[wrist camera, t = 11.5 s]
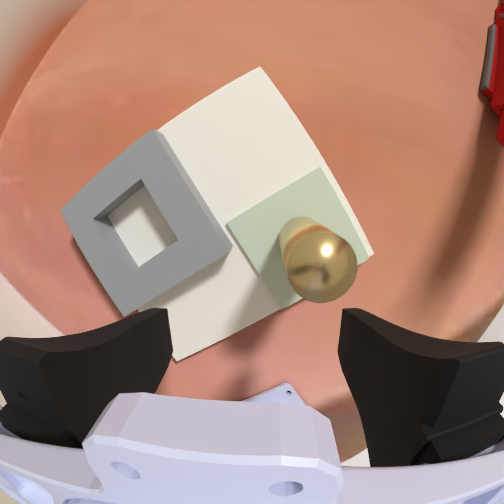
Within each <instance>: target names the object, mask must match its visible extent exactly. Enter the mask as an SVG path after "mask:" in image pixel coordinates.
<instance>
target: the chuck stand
mask: <svg viewBox="0 0 504 504" xmlns="http://www.w3.org/2000/svg"><path fill="white" fill-rule="evenodd" d="M60 212H61V214H62V216H63V218H64V220H65V222H66V224H67V225H68V227H69V229H70V231H71V233H72V235H73V237H74V238H75V240H76V242H77V244H78V246H79V247H80V249H81V251H82V253H83V254H84V256H85V258H86V259H87V261H88V263H89V264H90V266H91V268H92V269H93V271H94V273H95V274H96V276H97V277H98V279H99V281H100V282H101V284H102V285H103V287H104V288H105V290H106V291H107V293H108V294H109V296H110V297H111V299H112V300H113V302H114V303H115V305H116V306H117V308H118V309H119V311H120V312H121V313H122V315H123V316H124V317H125V316H127V315H128V314H130V313H131V312H133V311H135V310H136V309H137V310H138V311H139V312H142V311H144V310H147V309H150V308H167V310H168V317H169V325H170V332H171V339H172V345H173V353H172V356H173V357H174V358H175V360H176V361H179V360H181V359H183V358H185V357H187V356H189V355H191V354H194V353H196V352H198V351H200V350H202V349H204V348H206V347H208V346H210V345H212V344H214V343H216V342H218V341H220V340H222V339H224V338H226V337H228V336H230V335H232V334H234V333H236V332H238V331H240V330H242V329H244V328H246V327H248V326H249V325H251V324H253V323H255V322H257V321H259V320H261V319H263V318H264V317H266V316H268V315H270V314H272V313H274V312H276V311H277V310H279V309H282V310H283V309H284V308H286V307H288V306H290V305H292V304H293V303H295V302H297V301H299V300H301V299H302V297H300V296H299V295H298V294H297V293H296V292H295V291H294V290H293V288H292V287H291V285H290V282H289V280H288V276H287V272H286V268H285V264H284V261H283V257H282V253H281V250H280V246H279V234H280V231H281V229H282V227H283V226H284V225H285V223H286V222H288V221H289V220H291V219H293V218H295V217H301V216H302V217H309V218H311V219H313V220H315V221H317V222H318V223H320V224H321V225H323V226H325V227H326V228H328V229H329V230H331V231H332V232H334V233H336V234H337V235H339V236H340V237H342V238H343V239H345V240H346V241H347V242H348V243H349V244H350V245H351V246H352V248H353V250H354V252H355V254H356V257H357V266H358V265H360V264H361V263H363V262H365V261H366V260H368V259H369V256H371V255H373V254H374V252H373V250H372V248H371V246H370V244H369V242H368V240H367V238H366V236H365V234H364V232H363V230H362V228H361V226H360V224H359V222H358V220H357V218H356V216H355V214H354V212H353V211H352V209H351V207H350V205H349V203H348V201H347V199H346V198H345V196H344V194H343V192H342V190H341V189H340V187H339V185H338V183H337V181H336V180H335V178H334V176H333V174H332V173H331V171H330V169H329V168H328V166H327V164H326V163H325V161H324V159H323V158H322V156H321V154H320V153H319V151H318V149H317V148H316V146H315V145H314V143H313V141H312V140H311V138H310V137H309V135H308V134H307V132H306V131H305V129H304V127H303V126H302V124H301V123H300V121H299V120H298V118H297V117H296V115H295V114H294V112H293V111H292V110H291V108H290V107H289V105H288V104H287V102H286V101H285V99H284V98H283V97H282V95H281V94H280V92H279V91H278V90H277V88H276V87H275V86H274V84H273V83H272V81H271V80H270V79H269V77H268V76H267V75H266V73H265V72H264V71H263V69H262V68H261V67H258V68H256V69H254V70H252V71H250V72H249V73H247V74H245V75H243V76H241V77H239V78H238V79H236V80H234V81H232V82H231V83H229V84H227V85H225V86H224V87H222V88H220V89H219V90H217V91H215V92H214V93H212V94H210V95H209V96H207V97H205V98H204V99H202V100H201V101H199V102H198V103H196V104H194V105H193V106H191V107H190V108H188V109H187V110H185V111H184V112H182V113H181V114H179V115H178V116H177V117H175V118H174V119H172V120H171V121H169V122H168V123H167V124H165V125H164V126H162V127H161V128H160V129H158V130H157V131H156V130H154V129H151V130H150V131H149V132H147V133H146V134H145V135H143V136H142V137H141V138H139V139H138V140H137V141H136V142H134V143H133V144H132V145H131V146H129V147H128V148H127V149H126V150H125V151H123V152H122V153H121V154H120V155H119V156H117V157H116V158H115V159H114V160H113V161H111V162H110V163H109V164H108V165H107V166H106V167H105V168H104V169H102V170H101V171H100V172H99V173H98V174H97V175H96V176H95V177H94V178H93V179H91V180H90V181H89V182H88V183H87V184H86V185H85V186H84V187H83V188H82V189H81V190H80V191H79V192H78V193H77V194H76V195H75V196H74V197H73V198H72V199H71V200H70V201H69V202H68V203H67V204H66V205H65V206H64V207H63V208H62V209H61V210H60Z"/></svg>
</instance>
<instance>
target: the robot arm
mask: <svg viewBox="0 0 504 504" xmlns="http://www.w3.org/2000/svg"><path fill="white" fill-rule="evenodd" d="M172 353H173V345H172V339H171V332H170V325H169V317H168V310H167V308H150V309H147V310H144V311H142V312H139V313H137V314H134V315H132V316H129V317H127V318H125V319H122V320H120V321H117V322H114V323H112V324H109V325H106V326H104V327H101V328H98V329H94V330H91V331H87V332H83V333H79V334H73V335H67V336H60V337H53V338H52V337H51V338H19V337H5V338H4V339H2V340H1V341H0V390H1V392H2V394H3V396H4V398H5V400H6V402H7V404H6V405H5V406H4V407H3V408H2V407H1V406H0V489H2V490H3V491H4V492H5V493H7V494H8V495H9V496H11V497H12V498H13V499H15V500H16V501H17V502H19V503H20V504H504V418H503V417H502V416H501V415H500V413H501V412H502V411H503V406H502V405H501V404H500V403H499V400H500V398H501V396H502V394H503V392H504V344H503V343H502V342H481V343H480V342H479V343H473V342H458V341H450V340H444V339H438V338H433V337H429V336H425V335H422V334H418V333H415V332H412V331H409V330H407V329H404V328H402V327H399V326H397V325H394V324H392V323H390V322H388V321H385V320H383V319H381V318H379V317H377V316H375V315H373V314H371V313H369V312H366V311H364V310H362V309H359V308H347V309H343V310H342V319H341V328H340V336H339V344H338V356H339V360H340V364H341V368H342V371H343V374H344V376H345V379H346V381H347V384H348V386H349V388H350V391H351V393H352V396H353V398H354V400H355V403H356V405H357V408H358V411H359V414H360V417H361V421H362V425H363V429H364V433H365V438H366V443H367V448H368V454H369V459H370V467H348V466H341V464H340V460H339V456H338V451H337V447H336V443H335V439H334V434H333V430H332V426H331V422H330V420H329V419H328V418H326V417H325V416H324V415H322V414H321V413H319V412H318V411H316V410H315V409H313V408H312V407H311V406H307V405H306V404H305V403H304V401H303V400H302V399H301V397H300V396H299V395H298V394H297V392H296V391H295V390H294V388H293V387H292V386H291V384H289V383H282V384H280V385H278V386H276V387H273V388H271V389H269V390H267V391H264V392H262V393H260V394H257V395H255V396H252V397H250V398H247V399H245V400H242V401H219V400H204V399H192V398H182V397H174V396H165V395H158V394H154V393H155V392H156V390H157V388H158V386H159V384H160V382H161V380H162V378H163V376H164V374H165V372H166V370H167V368H168V365H169V363H170V360H171V356H172ZM287 391H291V392H287Z"/></svg>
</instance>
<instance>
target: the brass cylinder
mask: <svg viewBox="0 0 504 504" xmlns="http://www.w3.org/2000/svg"><path fill="white" fill-rule="evenodd" d="M279 246H280V250H281V253H282V257H283V261H284V264H285V268H286V272H287V276H288V280H289V282H290V285H291V287H292V288H293V290H294V291H295V292H296V293H297V294H298V295H299V296H300V297H302V298H304V299H305V300H308V301H311V302H315V303H325V302H330V301H333V300H336V299H337V298H339V297H341V296H342V295H344V294H345V293H346V292H347V291H348V290H349V288H350V287H351V286H352V284H353V282H354V280H355V277H356V274H357V257H356V254H355V252H354V250H353V248H352V246H351V245H350V244H349V243H348V242H347V241H346V240H345V239H343V238H342V237H340V236H339V235H337V234H336V233H334V232H332V231H331V230H329V229H328V228H326V227H325V226H323V225H321V224H320V223H318V222H317V221H315V220H313V219H311V218H309V217H302V216H301V217H295V218H293V219H291V220H289V221H288V222H286V223H285V225H284V226H283V227H282V229H281V231H280V234H279Z"/></svg>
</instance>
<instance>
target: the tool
mask: <svg viewBox="0 0 504 504" xmlns="http://www.w3.org/2000/svg"><path fill="white" fill-rule="evenodd" d="M495 12H496V22H495V24H492V25H491V26H489V34H488V43H487V51H486V59H485V65H484V71H483V77H482V82H481V87H480V90H481V91H482V92H483V93H484V94H485V95H486V96H487V97H488V98H489V99H490V100H491V101H492V102H491V108H492V109H493V110H494V112H495V113H496V114H497V115H498V116H499V117H500V122H499V127H498V132H497V136H496V139H497V140H498V141H499V142H500V143H501V145H502V146H503V147H504V3H502V4H501V5H500V4H499V5H498V6H497V9H496V11H495Z"/></svg>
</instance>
